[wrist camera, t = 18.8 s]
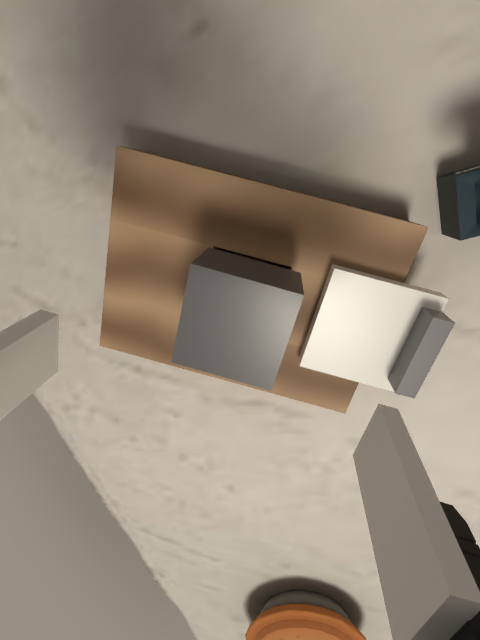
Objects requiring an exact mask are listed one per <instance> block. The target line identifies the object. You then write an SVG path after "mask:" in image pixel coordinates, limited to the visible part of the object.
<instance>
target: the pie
mask: <svg viewBox="0 0 480 640" xmlns="http://www.w3.org/2000/svg"><path fill="white" fill-rule="evenodd" d="M245 636H246V640H366V638H365V637H364V636H363V634H362V633H361V632H360V631H359V630H358V629H357V628H356V627H355V626H354V625H353V623H352V622H351V620H350V619H349V617H348V616H347V614H346V613H345V611H344V610H343V609H342V608H341V607H340V606H339V605H338V604H337V603H336V602H335V601H333V600H331V599H330V598H328V597H326V596H323V595H321V594H318V593H314V592H309V591H288V592H283V593H280V594H278V595H276V596H274V597H272V598H271V599H270V600H269V601H268V602H267V603H266V604H265V605H264V607H263V608H262V610H261V611H260V613H259V615H258V617H257V618H256V619H255V620H254V621H253V622H252V623H251V624H250V626H249V628H248V631H247V633H246V635H245Z"/></svg>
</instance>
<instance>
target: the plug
mask: <svg viewBox="0 0 480 640" xmlns="http://www.w3.org/2000/svg"><path fill="white" fill-rule="evenodd" d="M303 297H304V290H303V284H302V277H301V273H300V272H296V271H293V270H289V269H285V268H282V267H279V265H277V264H273V263H269V262H266V261H262V260H259V259H255V258H251V257H248V256H244V255H241V254H237V253H234V254H231V253H228V252H224V251H221V250H217V249H214V248H210V247H209V248H208V249H207V250H205V251H204V252H203V253H202V254H201V255H200V256H199V257H197V258H196V259H195V260H194V261H193V262H192V263H190V268H189V274H188V279H187V284H186V289H185V294H184V299H183V304H182V309H181V315H180V320H179V325H178V330H177V335H176V340H175V345H174V350H173V356H172V361H171V362H172V363H175V364H179V365H182V366H186V367H189V368H193V369H196V370H200V371H203V372H207V373H210V374H214V375H217V376H221V377H224V378H228V379H231V380H235V381H238V382H242V383H245V384H249V385H252V386H256V387H259V388H263V389H266V390H270V391H271V390H272V388H273V385H274V382H275V379H276V376H277V373H278V370H279V367H280V364H281V361H282V358H283V356H284V353H285V350H286V347H287V344H288V341H289V338H290V335H291V332H292V329H293V327H294V324H295V321H296V318H297V315H298V312H299V309H300V306H301V303H302V300H303Z"/></svg>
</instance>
